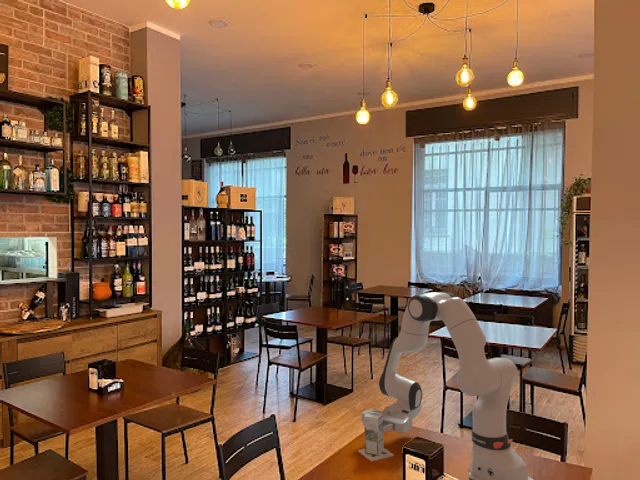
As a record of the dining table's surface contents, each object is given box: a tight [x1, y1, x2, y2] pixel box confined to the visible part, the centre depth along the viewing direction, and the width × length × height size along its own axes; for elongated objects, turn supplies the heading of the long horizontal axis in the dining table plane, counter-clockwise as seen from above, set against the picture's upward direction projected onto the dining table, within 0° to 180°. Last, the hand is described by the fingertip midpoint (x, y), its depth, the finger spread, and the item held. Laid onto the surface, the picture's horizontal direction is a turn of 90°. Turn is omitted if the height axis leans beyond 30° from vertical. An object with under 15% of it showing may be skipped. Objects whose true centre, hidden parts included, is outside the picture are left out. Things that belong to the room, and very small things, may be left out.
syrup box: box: [363, 412, 384, 456], centre depth 189 cm, size 6×6×14 cm
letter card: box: [357, 447, 395, 463], centre depth 189 cm, size 10×10×1 cm
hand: (373, 426), depth 188 cm, fingers open, 7 cm apart
